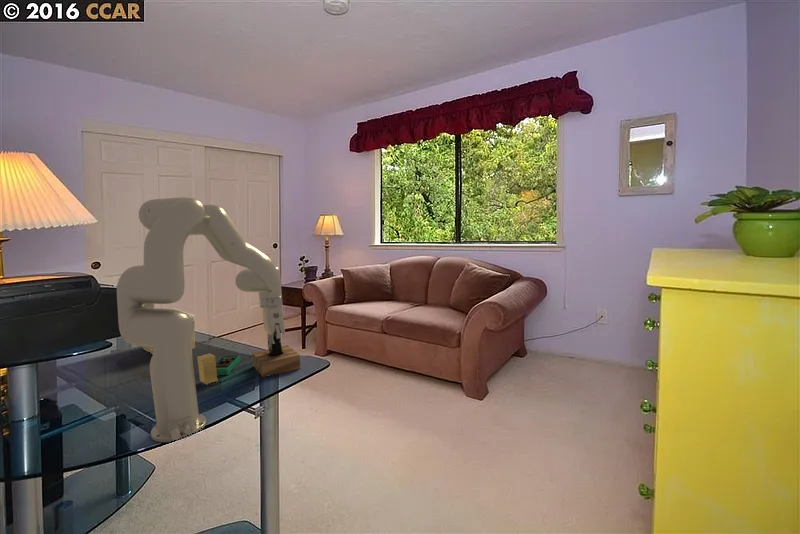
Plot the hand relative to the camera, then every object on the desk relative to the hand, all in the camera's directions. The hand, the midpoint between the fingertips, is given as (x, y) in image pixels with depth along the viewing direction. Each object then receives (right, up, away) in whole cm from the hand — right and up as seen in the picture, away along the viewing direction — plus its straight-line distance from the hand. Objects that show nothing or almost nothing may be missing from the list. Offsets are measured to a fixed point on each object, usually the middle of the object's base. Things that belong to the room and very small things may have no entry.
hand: (275, 351), depth 145 cm
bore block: (0, -6, +1) cm, 6 cm away
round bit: (0, -2, 0) cm, 2 cm away
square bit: (-19, -8, -10) cm, 23 cm away
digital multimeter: (-19, -7, +2) cm, 20 cm away
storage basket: (-53, -4, +27) cm, 59 cm away
